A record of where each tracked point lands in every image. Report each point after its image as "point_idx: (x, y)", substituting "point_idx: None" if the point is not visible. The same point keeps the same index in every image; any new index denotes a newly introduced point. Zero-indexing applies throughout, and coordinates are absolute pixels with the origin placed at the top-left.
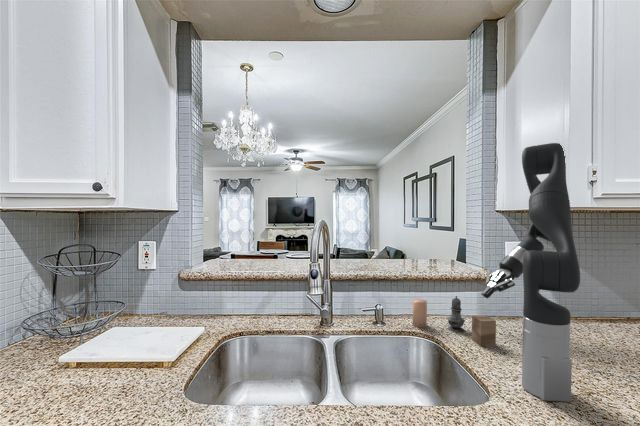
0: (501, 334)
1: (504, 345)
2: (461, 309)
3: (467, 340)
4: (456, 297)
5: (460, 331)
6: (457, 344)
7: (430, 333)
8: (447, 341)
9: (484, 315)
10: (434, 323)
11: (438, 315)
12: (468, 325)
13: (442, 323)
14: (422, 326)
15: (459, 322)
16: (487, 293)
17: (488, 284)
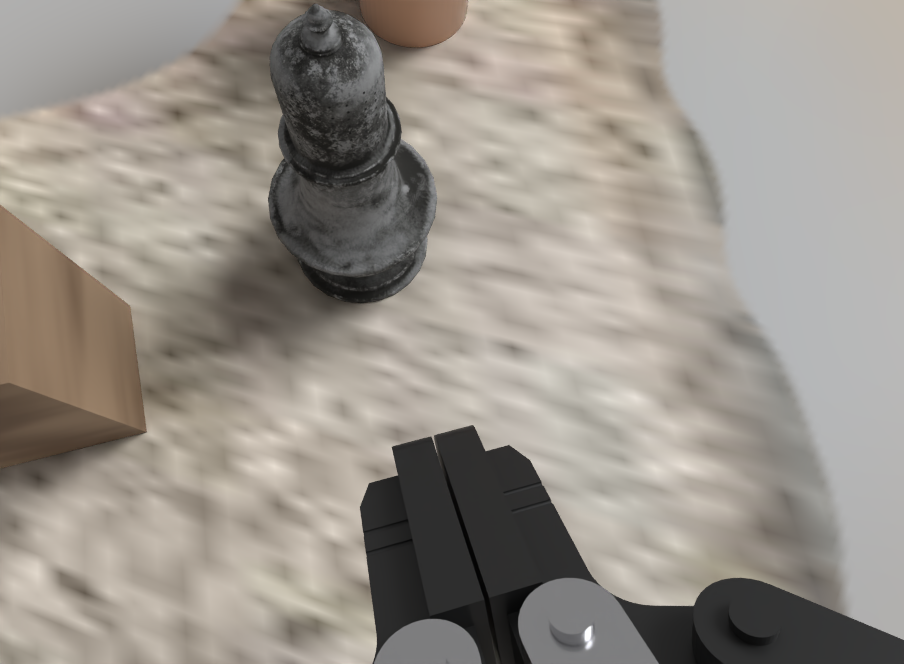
0: (283, 632)
1: (7, 555)
2: (314, 179)
3: (116, 269)
4: (304, 20)
5: (301, 261)
6: (35, 176)
7: (246, 44)
8: (93, 123)
9: (6, 356)
10: (477, 110)
11: (701, 181)
12: (485, 377)
13: (491, 170)
14: (361, 6)
15: (270, 208)
16: (367, 514)
17: (568, 610)
